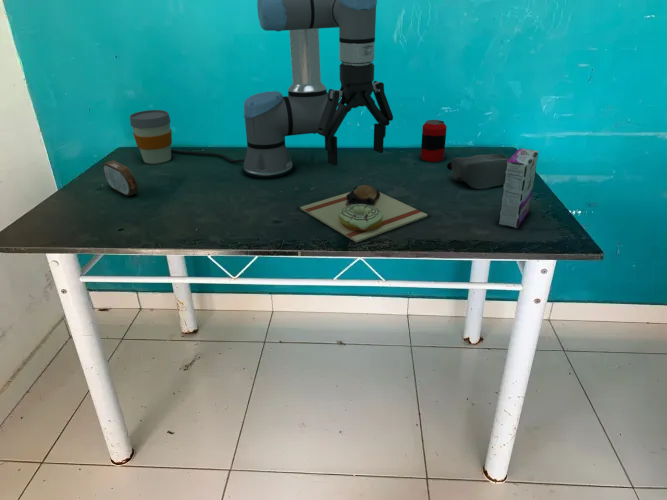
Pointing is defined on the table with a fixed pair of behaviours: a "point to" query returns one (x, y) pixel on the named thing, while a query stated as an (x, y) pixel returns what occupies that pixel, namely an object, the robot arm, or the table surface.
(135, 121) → the reusable coffee cup
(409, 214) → the towel
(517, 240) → the table surface
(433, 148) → the soda can
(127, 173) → the tin
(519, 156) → the candy bar box
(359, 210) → the decorated donut
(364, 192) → the bread roll
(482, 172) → the gray bottle
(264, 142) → the robot arm
